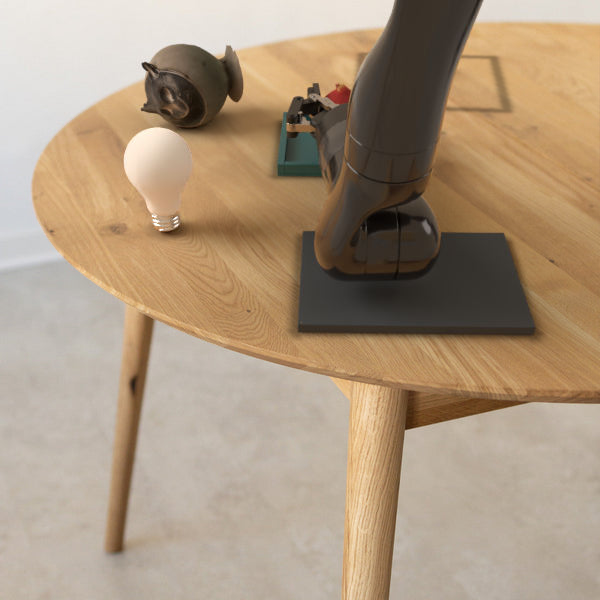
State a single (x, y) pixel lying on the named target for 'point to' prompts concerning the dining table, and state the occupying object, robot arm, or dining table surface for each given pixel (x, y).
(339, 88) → the onion
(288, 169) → the tray
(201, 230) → the dining table surface
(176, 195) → the light bulb
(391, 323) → the mat
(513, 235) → the dining table surface
